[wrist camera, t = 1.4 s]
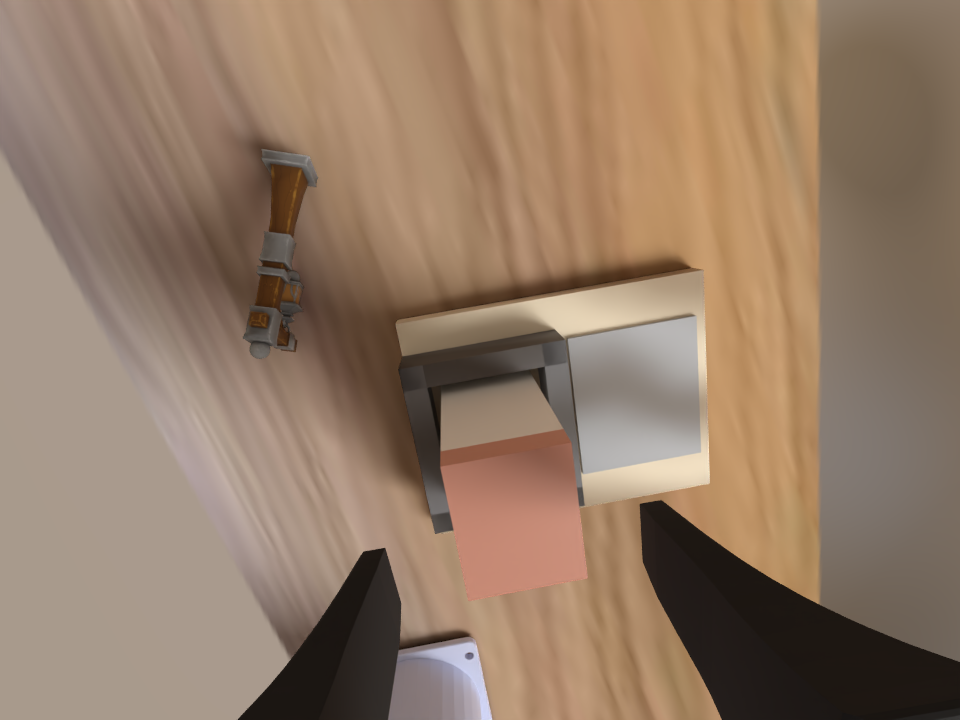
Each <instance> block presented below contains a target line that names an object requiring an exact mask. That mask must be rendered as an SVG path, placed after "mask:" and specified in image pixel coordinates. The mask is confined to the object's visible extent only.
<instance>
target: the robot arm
mask: <svg viewBox="0 0 960 720" xmlns="http://www.w3.org/2000/svg"><path fill="white" fill-rule="evenodd" d="M640 518H641V537H642V556H643V563H644V566H645V568H646V571H647V573H648V576H649V578H650V581H651V583H652V585H653V588H654V590H655V592H656V595H657V597H658V599H659V601H660V603H661V604H662V606H663V608H664V610H665V612H666V614H667V615H668V617H669V619H670V621H671V623H672V625H673V626H674V628H675V630H676V632H677V634H678V635H679V637H680V639H681V641H682V643H683V644H684V646H685V648H686V650H687V652H688V653H689V655H690V657H691V659H692V661H693V662H694V664H695V666H696V668H697V670H698V671H699V673H700V675H701V677H702V679H703V681H704V683H705V685H706V687H707V688H708V690H709V692H710V694H711V696H712V699H713V701H714V703H715V705H716V707H717V710H718V712H719V714H720V716H721V719H722V720H960V662H958V661H955V660H952V659H949V658H946V657H943V656H941V655H938V654H935V653H932V652H930V651H927V650H924V649H921V648H918V647H915V646H913V645H910V644H907V643H905V642H902V641H900V640H897V639H895V638H892V637H890V636H888V635H885V634H883V633H880V632H878V631H875V630H873V629H871V628H868V627H866V626H864V625H861V624H859V623H857V622H855V621H852V620H850V619H848V618H846V617H844V616H842V615H840V614H838V613H835V612H833V611H831V610H829V609H827V608H825V607H823V606H821V605H819V604H817V603H815V602H813V601H811V600H809V599H807V598H805V597H803V596H801V595H800V594H798V593H796V592H794V591H792V590H791V589H789V588H787V587H785V586H784V585H782V584H780V583H778V582H776V581H775V580H773V579H771V578H770V577H768V576H766V575H765V574H763V573H761V572H760V571H758V570H757V569H755V568H753V567H752V566H750V565H749V564H747V563H746V562H744V561H743V560H741V559H740V558H738V557H737V556H735V555H734V554H732V553H731V552H729V551H728V550H727V549H725V548H724V547H722V546H721V545H720V544H718V543H717V542H715V541H714V540H713V539H711V538H710V537H709V536H707V535H706V534H705V533H703V532H702V531H701V530H699V529H698V528H697V527H695V526H694V525H693V524H691V523H690V522H689V521H688V520H686V519H685V518H684V517H682V516H681V515H680V514H679V513H677V512H676V511H675V510H674V509H672V508H671V507H670V506H668V505H667V504H666V503H664V502H663V501H662V500H660V501H654V502H648V503H642V504H640ZM400 626H401V601H400V597H399V594H398V590H397V587H396V584H395V580H394V577H393V573H392V570H391V566H390V563H389V559H388V556H387V553H386V549H385V548H382V549H376V550H370V551H365V552H363V553H362V555H361V556H360V558H359V559H358V561H357V562H356V564H355V566H354V567H353V569H352V571H351V572H350V574H349V576H348V577H347V579H346V581H345V582H344V584H343V585H342V587H341V589H340V590H339V592H338V593H337V595H336V596H335V598H334V600H333V601H332V603H331V604H330V606H329V607H328V609H327V610H326V612H325V613H324V615H323V616H322V618H321V619H320V621H319V622H318V624H317V625H316V626H315V628H314V629H313V630H312V632H311V633H310V635H309V636H308V637H307V639H306V640H305V642H304V643H303V644H302V646H301V647H300V648H299V650H298V651H297V652H296V654H295V655H294V656H293V657H292V659H291V660H290V661H289V663H288V664H287V665H286V666H285V668H284V669H283V670H282V671H281V672H280V674H279V675H278V676H277V677H276V678H275V680H274V681H273V682H272V683H271V684H270V685H269V687H268V688H267V689H266V690H265V691H264V692H263V693H262V694H261V695H260V696H259V697H258V699H257V700H256V701H255V702H254V703H253V704H252V705H251V706H250V707H249V708H248V709H247V710H246V711H245V712H244V713H243V714H242V715H241V717H240V718H239V719H238V720H492V715H491V711H490V706H489V701H488V696H487V692H486V687H485V682H484V677H483V673H482V668H481V663H480V659H479V654H478V649H477V644H476V641H475V640H474V639H473V638H471V637H464V638H459V639H454V640H449V641H444V642H438V643H433V644H428V645H423V646H418V647H413V648H408V649H402V650H399V643H400ZM468 652H471V653H470V654H467V653H468Z"/></svg>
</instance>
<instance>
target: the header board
mask: <svg viewBox="0 0 960 720" xmlns="http://www.w3.org/2000/svg"><path fill="white" fill-rule="evenodd" d="M395 325H396V330H397V334H398V339H399V344H400V348H401V353H402V359H401V363H400V366H399V369H398V370H399V375H400V379H401V384H402V388H403V393H404V397H405V402H406V406H407V410H408V415H409V419H410V424H411V428H412V433H413V437H414V442H415V446H416V451H417V455H418V460H419V464H420V468H421V473H422V477H423V482H424V486H425V491H426V495H427V500H428V504H429V509H430V513H431V518H432V522H433V526H434V531H435V534H437V533H441V534H444V533H450V532H454V530H453V525H452V520H451V515H450V511H449V506H448V501H447V496H446V492H445V487H444V482H443V477H442V473H441V468H440V451H441V385H446V384H451V383H457V382H462V381H468V380H474V379H479V378H485V377H490V376H496V375H501V374H507V373H512V372H518V371H524V370H529V371H530V373H531V374H532V376H533V378H534V380H535V381H536V383H537V385H538V386H539V388H540V390H541V392H542V393H543V395H544V397H545V398H546V400H547V402H548V403H549V405H550V407H551V409H552V410H553V412H554V414H555V415H556V417H557V419H558V421H559V422H560V424H561V426H562V427H563V429H564V431H565V432H566V434H567V436H568V438H569V439H570V441H571V443H572V451H573V460H574V468H575V476H576V485H577V493H578V501H579V508H583V507H588V506H593V505H598V504H604V503H609V502H614V501H620V500H625V499H630V498H636V497H641V496H646V495H652V494H657V493H662V492H668V491H673V490H678V489H683V488H689V487H694V486H699V485H705V484H710V475H709V440H708V406H707V371H706V336H705V302H704V270H701V269H695V268H689V269H684V270H678V271H672V272H667V273H661V274H655V275H650V276H644V277H638V278H633V279H627V280H621V281H616V282H610V283H604V284H599V285H593V286H587V287H581V288H576V289H570V290H564V291H559V292H553V293H547V294H542V295H536V296H530V297H525V298H519V299H513V300H508V301H502V302H496V303H491V304H485V305H479V306H474V307H468V308H462V309H457V310H451V311H445V312H440V313H434V314H428V315H423V316H417V317H411V318H406V319H400V320H397V322H396V324H395Z"/></svg>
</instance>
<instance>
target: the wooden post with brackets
mask: <svg viewBox="0 0 960 720" xmlns="http://www.w3.org/2000/svg"><path fill="white" fill-rule="evenodd" d="M261 150H262V152H263V153H262V158H261V159H262V161H263V163H264V164H265V166H266V168H267V169H268V171H269V173H270V174H271V177H272V196H271V220H270V227H269V232H265V231H264V237H265V239H264V244H263V249H262V253H261V255H260V257H259V260H260V261H261V262H262V263H263V265H262V266H257V267H258V270H257V272H256V273H257V274H258V275H259V276H260V282H259V287H258V292H257V297H256V303H255V306H252V305H250V313H249V318H248V323H247V328H246V332H245V334H244V337H243V339H245V340H246V341H248V342H250V343H251V345H250V353H251V355H252V356H253V357H255V358H258V359H262V358H265V357H267V356H268V355H269V353H270V346H273V347H274V348H277V349H281V350H282V351H292V352H296V345H297V340H295V338H294V335H293V334H292V333H291V332H290V327H289V326H288V323H290V322H293V321H295V320H294V319H292V318H291V317H292V316H293V315H292V314H293V313H296V312H303V309H302V308H301V307H300V306H299V303H300V299H301V294H302V291H303V289H304V286H303V285H302V284H301V283H300V282H299V280H300V276H299V274H298V273H297V272H296V271H292V259H293V253H294V249H295V246H296V243H295V241H294V240H293V236H294V230H295V225H296V221H297V217H298V214H299V210H300V206H301V203H302V199H303V196H304V193H305V190H306V188H307V186H313V187H316V182H317V179H318V176H317V174H316V171H315V169H314V167H313V164H312V162H311V159H310V157H309V156H306V155H299V154H292V153H286V152H279V151H272V150H265V149H261ZM288 270H291V271H288ZM280 310H281V311H282V312H281V311H280ZM282 321H283V323H282ZM285 323H286V324H285ZM286 327H287V328H288V332H286V331H285V329H284V328H286Z"/></svg>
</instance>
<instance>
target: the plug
mask: <svg viewBox="0 0 960 720" xmlns="http://www.w3.org/2000/svg"><path fill="white" fill-rule="evenodd" d="M440 468H441V473H442V477H443V482H444V487H445V492H446V496H447V501H448V506H449V511H450V515H451V520H452V525H453V530H454V534H455V539H456V544H457V549H458V553H459V558H460V563H461V568H462V572H463V577H464V582H465V587H466V591H467V596H468V601H472V600H477V599H482V598H487V597H493V596H498V595H503V594H508V593H513V592H519V591H524V590H529V589H534V588H539V587H545V586H550V585H555V584H560V583H565V582H571V581H576V580H581V579H586V578H588V576H587V568H586V560H585V551H584V543H583V535H582V526H581V518H580V510H579V501H578V493H577V485H576V476H575V468H574V460H573V451H572V443H571V441H570V439H569V438H568V436H567V434H566V432H565V431H564V429H563V427H562V426H561V424H560V422H559V421H558V419H557V417H556V415H555V414H554V412H553V410H552V409H551V407H550V405H549V403H548V402H547V400H546V398H545V397H544V395H543V393H542V392H541V390H540V388H539V386H538V385H537V383H536V381H535V380H534V378H533V376H532V374H531V373H530V371H529V370H524V371H518V372H512V373H507V374H501V375H496V376H490V377H485V378H479V379H474V380H468V381H462V382H457V383H451V384H446V385H441V451H440Z"/></svg>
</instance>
